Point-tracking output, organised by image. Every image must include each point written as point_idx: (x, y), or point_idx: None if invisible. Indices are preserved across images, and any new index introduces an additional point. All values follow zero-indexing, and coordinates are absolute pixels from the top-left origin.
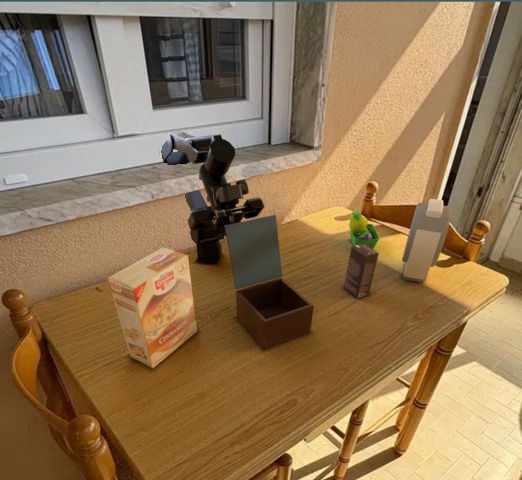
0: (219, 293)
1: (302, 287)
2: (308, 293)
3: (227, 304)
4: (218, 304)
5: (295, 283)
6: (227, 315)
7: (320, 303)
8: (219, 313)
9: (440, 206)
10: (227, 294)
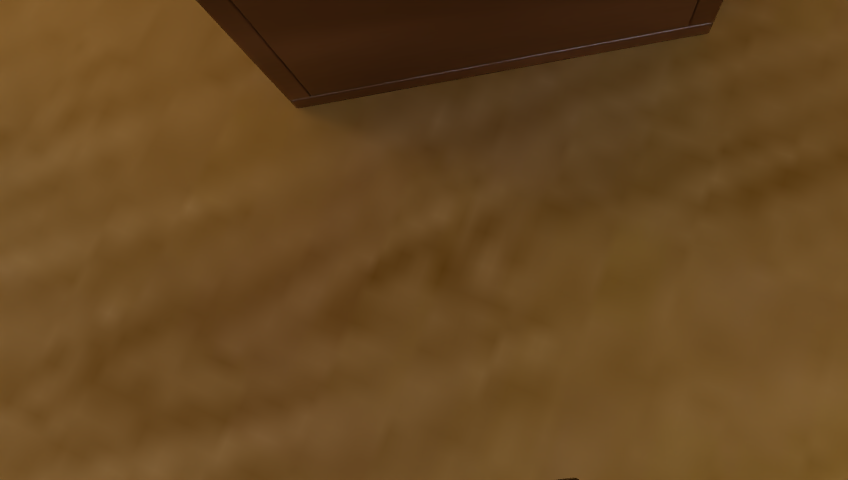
0: (765, 466)
1: (21, 278)
2: (26, 178)
3: (735, 252)
4: (821, 281)
5: (39, 360)
6: (779, 93)
7: (22, 27)
8: (844, 142)
9: None
10: (689, 417)
